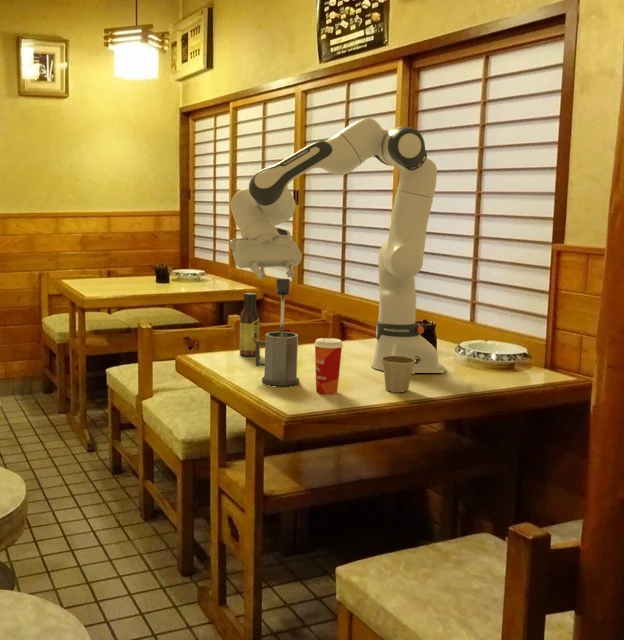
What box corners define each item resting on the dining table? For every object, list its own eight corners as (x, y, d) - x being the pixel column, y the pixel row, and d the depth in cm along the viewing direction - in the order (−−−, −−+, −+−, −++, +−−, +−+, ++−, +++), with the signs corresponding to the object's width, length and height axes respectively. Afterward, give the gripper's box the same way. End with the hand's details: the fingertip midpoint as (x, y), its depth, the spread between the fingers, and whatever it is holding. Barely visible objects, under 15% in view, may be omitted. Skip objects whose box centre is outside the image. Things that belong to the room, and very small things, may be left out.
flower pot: (420, 394, 211) (421, 362, 210) (387, 395, 209) (388, 363, 207) (406, 385, 220) (407, 355, 219) (374, 386, 218) (375, 356, 216)
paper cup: (310, 388, 214) (312, 337, 211) (338, 388, 214) (340, 337, 212) (314, 395, 206) (315, 343, 204) (343, 395, 207) (345, 343, 204)
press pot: (300, 378, 223) (301, 332, 221) (298, 388, 213) (299, 339, 211) (257, 377, 224) (258, 330, 222) (253, 386, 214) (254, 337, 211)
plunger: (293, 341, 220) (295, 278, 217) (291, 345, 214) (293, 280, 211) (271, 340, 220) (273, 277, 217) (269, 344, 214) (271, 280, 211)
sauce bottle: (257, 357, 250) (259, 295, 247) (238, 356, 250) (239, 294, 247) (259, 353, 257) (260, 292, 253) (240, 352, 257) (241, 291, 254)
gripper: (231, 231, 215) (248, 270, 208) (294, 230, 226) (312, 268, 220) (223, 246, 219) (239, 285, 213) (285, 245, 230) (303, 282, 224)
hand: (277, 276), depth 216 cm, fingers open, 8 cm apart
